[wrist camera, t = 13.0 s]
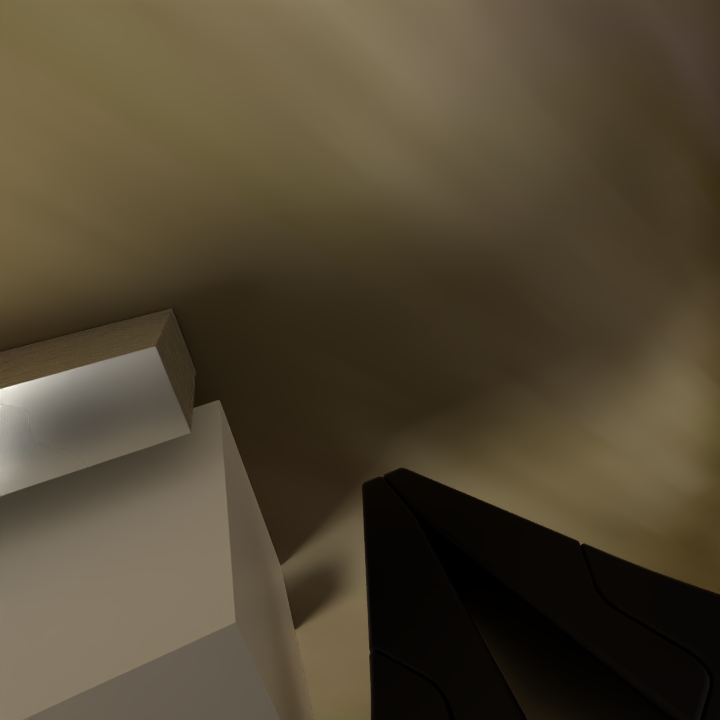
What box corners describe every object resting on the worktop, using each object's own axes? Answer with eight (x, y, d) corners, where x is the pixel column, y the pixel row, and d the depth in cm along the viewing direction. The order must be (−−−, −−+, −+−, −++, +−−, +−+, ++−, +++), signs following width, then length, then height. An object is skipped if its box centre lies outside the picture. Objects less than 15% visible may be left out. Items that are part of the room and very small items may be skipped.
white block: (280, 562, 10) (344, 861, 5) (-89, 722, 8) (-497, 1405, 3) (219, 397, 8) (235, 621, 3) (-266, 551, 6) (-1574, 1449, 2)
